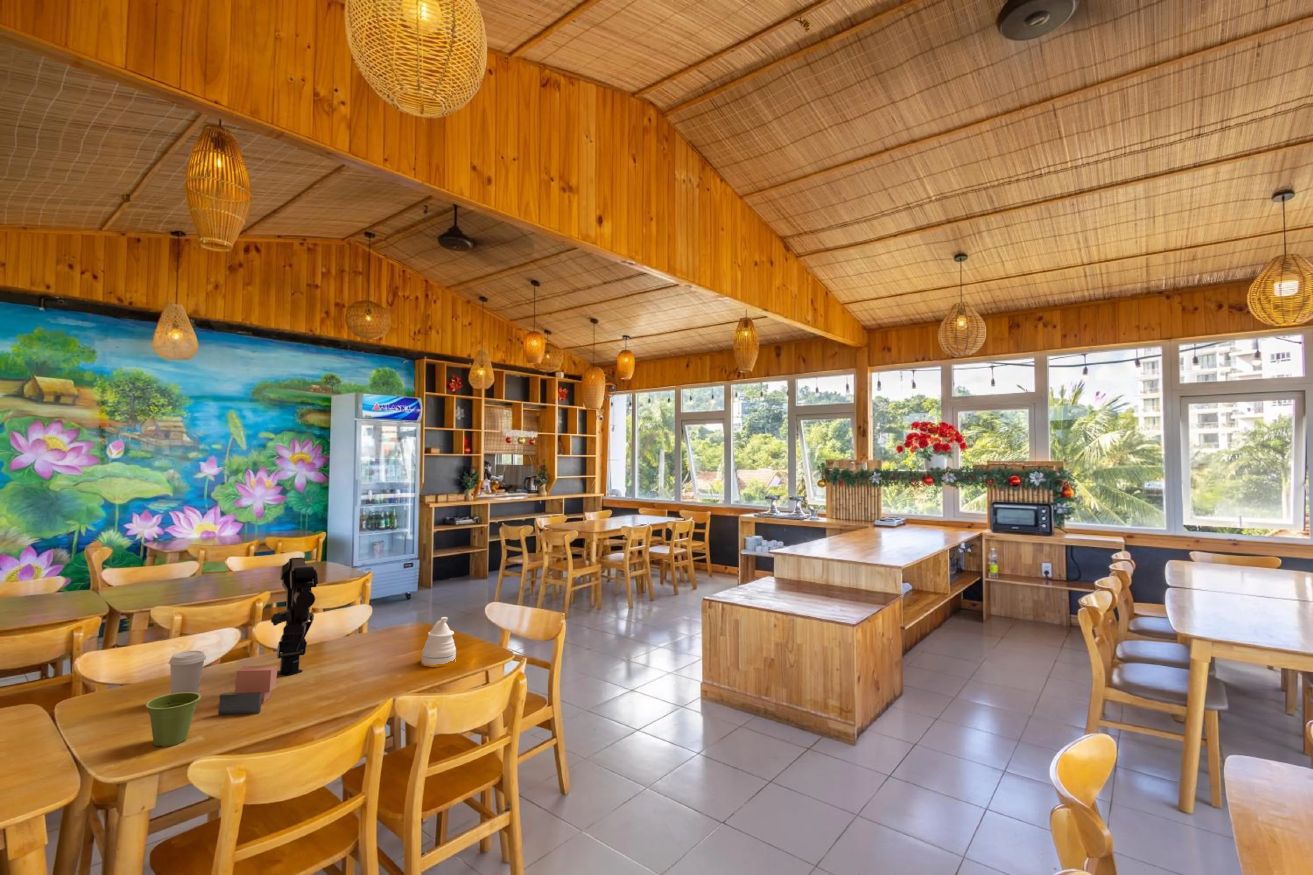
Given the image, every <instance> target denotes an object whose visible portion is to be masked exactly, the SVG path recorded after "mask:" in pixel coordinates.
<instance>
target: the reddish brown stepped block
mask: <svg viewBox="0 0 1313 875" xmlns="http://www.w3.org/2000/svg"><path fill="white" fill-rule="evenodd" d="M277 671H278V664H273V665H271V664H269V665H265V664H264V665H244V666H242V667H240V668H239V669H237V670H236V675H235V687H234V693H252V692H262V699H261V704H262V703H265V702H267V700H268V699H269V698H271V692H272V690H274V689H275V688H276V687H277V677H278V674H277Z"/></svg>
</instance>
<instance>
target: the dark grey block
mask: <svg viewBox="0 0 1313 875" xmlns="http://www.w3.org/2000/svg"><path fill="white" fill-rule="evenodd" d="M261 699H262V692H252V693H235V692H228V693H225V692H224V693H221V694H220V695H219V701H218V712H217V715H218V716H235V715H236V716H237V715H240V716H241V715H242V716H243V715H259V714H260V713H261V710H262V703H261Z"/></svg>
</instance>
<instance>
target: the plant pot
mask: <svg viewBox="0 0 1313 875" xmlns="http://www.w3.org/2000/svg"><path fill="white" fill-rule="evenodd" d="M200 699H201V694H200V693H199V692H198V693H194V692H181V693H173V694H171V693H170V694H164V695H161V696H158V697H155V698H153V699H150V700H149V701H147V702H146V703H145V707H146V708H147V711H148V714H149V717H150V718H149V719H150V725H151V733H152V734H151V735H152V741H153V742H152V743H153V745H154V746H155V747H160V746H161V747H165V748H166V747H171V746H175V745H179V744H181V743H182V742H183V741H186V740H187V738H188V736H189V731H190V729H191V724H192V721H193V716H194V714H195V710H196V708H197V705H198V701H199V700H200Z"/></svg>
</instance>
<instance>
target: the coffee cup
mask: <svg viewBox="0 0 1313 875" xmlns="http://www.w3.org/2000/svg"><path fill="white" fill-rule="evenodd" d="M206 659H207V656H206V655H205V652H204V651H203V650H187V651H185V650H184V651H181V652H178V653H174V654H172V656H171V658H170V659H169V661H168V664H169V665H170V666H169V667H170V670H169V671H170V694H173V693H181V692H194V693H198V694H199V689H200V683H201V679H202V674H203V668H204V663H205V661H206Z"/></svg>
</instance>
